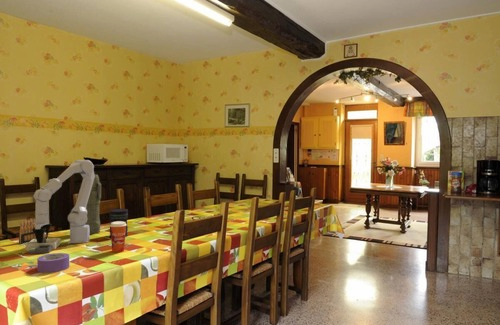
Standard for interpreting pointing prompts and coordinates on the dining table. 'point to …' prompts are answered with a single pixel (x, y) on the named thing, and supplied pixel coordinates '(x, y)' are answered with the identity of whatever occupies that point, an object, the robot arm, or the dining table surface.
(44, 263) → the tape roll
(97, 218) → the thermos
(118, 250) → the paper cup
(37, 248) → the checker cradle
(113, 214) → the storage jar
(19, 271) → the dining table surface
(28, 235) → the ammunition clip
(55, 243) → the trough tray
